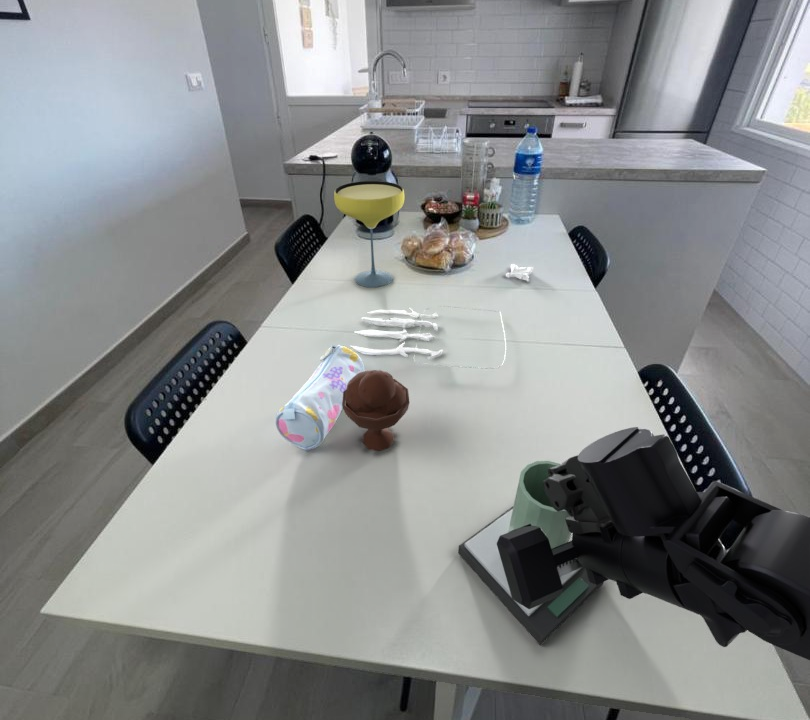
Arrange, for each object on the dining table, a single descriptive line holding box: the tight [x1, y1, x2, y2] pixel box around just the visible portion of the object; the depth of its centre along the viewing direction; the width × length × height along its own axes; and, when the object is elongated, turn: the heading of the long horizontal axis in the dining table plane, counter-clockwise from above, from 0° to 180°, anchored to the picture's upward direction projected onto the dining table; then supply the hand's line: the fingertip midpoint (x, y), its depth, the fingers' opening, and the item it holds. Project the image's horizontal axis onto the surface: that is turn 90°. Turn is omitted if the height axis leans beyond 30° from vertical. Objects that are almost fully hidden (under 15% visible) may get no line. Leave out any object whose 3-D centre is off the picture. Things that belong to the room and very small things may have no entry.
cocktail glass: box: [333, 180, 405, 288], centre depth 122 cm, size 18×18×25 cm
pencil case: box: [275, 344, 365, 451], centre depth 80 cm, size 21×9×10 cm, turn 164°
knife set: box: [350, 305, 507, 370], centre depth 104 cm, size 26×35×1 cm
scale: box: [457, 505, 605, 646], centre depth 57 cm, size 14×12×2 cm
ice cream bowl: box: [342, 369, 410, 452], centre depth 73 cm, size 11×11×15 cm
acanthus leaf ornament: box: [505, 263, 534, 282], centre depth 130 cm, size 8×7×2 cm
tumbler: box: [508, 460, 572, 549], centre depth 53 cm, size 7×7×14 cm
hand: (545, 526), depth 51 cm, fingers open, 9 cm apart
